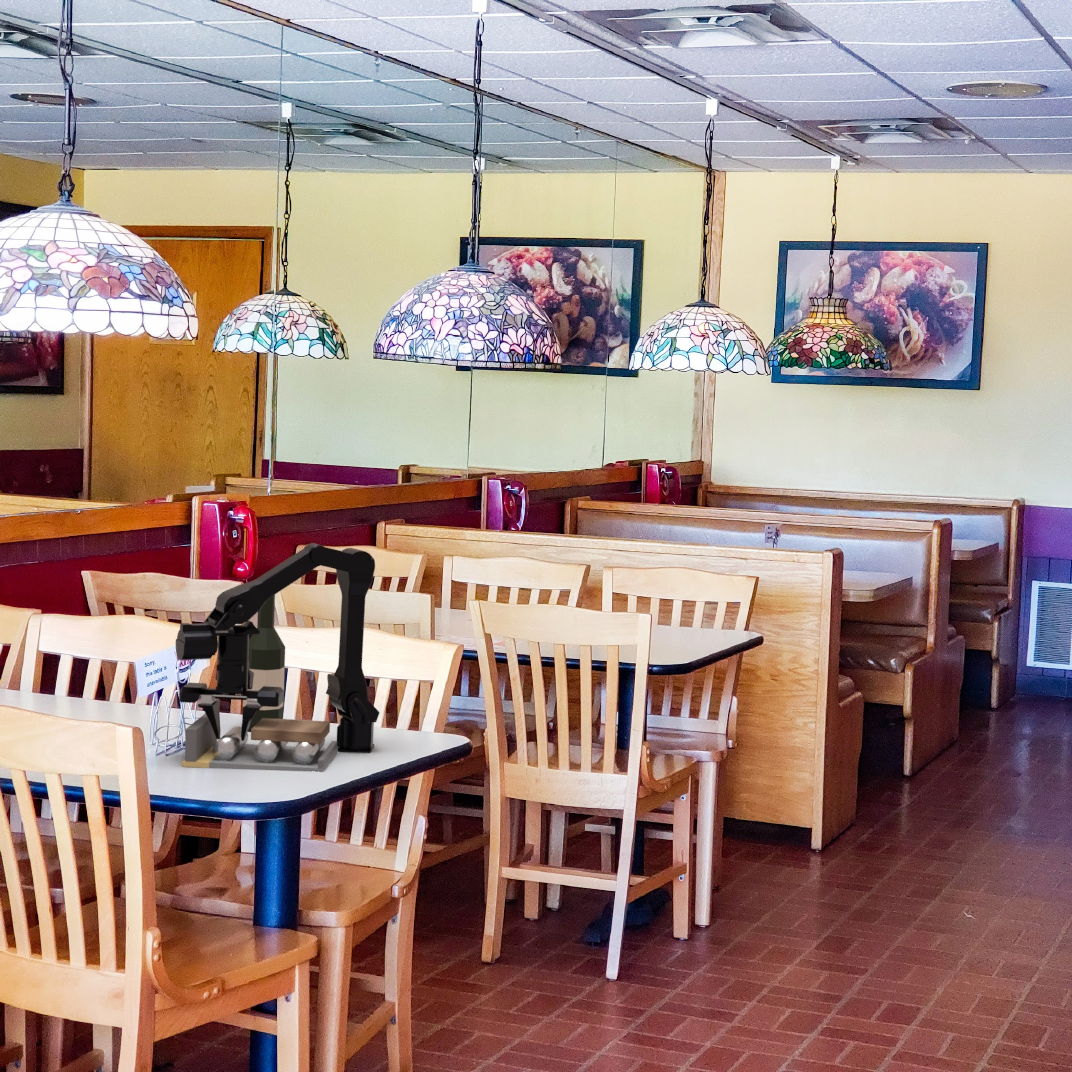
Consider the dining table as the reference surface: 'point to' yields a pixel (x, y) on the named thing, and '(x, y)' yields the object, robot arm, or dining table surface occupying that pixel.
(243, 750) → the track board
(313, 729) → the slab
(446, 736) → the dining table surface
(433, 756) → the dining table surface
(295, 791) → the dining table surface
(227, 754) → the roller
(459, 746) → the dining table surface
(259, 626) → the wine bottle
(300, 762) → the roller
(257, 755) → the roller
